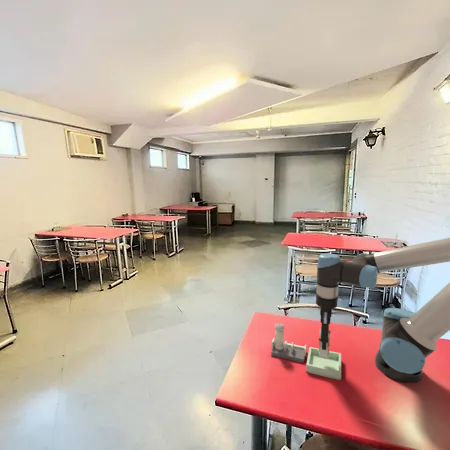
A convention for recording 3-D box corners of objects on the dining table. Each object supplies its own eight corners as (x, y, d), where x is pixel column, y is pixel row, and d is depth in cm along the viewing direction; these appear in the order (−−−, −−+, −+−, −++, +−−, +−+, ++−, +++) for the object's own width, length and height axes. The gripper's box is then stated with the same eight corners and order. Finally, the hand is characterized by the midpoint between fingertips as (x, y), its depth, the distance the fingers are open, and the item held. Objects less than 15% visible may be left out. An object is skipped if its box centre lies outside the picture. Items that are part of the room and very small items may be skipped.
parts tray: (340, 360, 106) (340, 353, 106) (340, 380, 96) (341, 372, 95) (309, 353, 111) (309, 346, 111) (306, 372, 100) (306, 364, 100)
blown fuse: (329, 353, 104) (330, 329, 102) (328, 359, 100) (330, 334, 99) (318, 351, 105) (319, 327, 104) (318, 356, 102) (319, 332, 100)
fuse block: (306, 351, 112) (307, 341, 112) (304, 363, 105) (305, 352, 104) (274, 344, 118) (274, 335, 117) (270, 355, 110) (270, 345, 110)
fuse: (284, 346, 114) (285, 324, 112) (282, 351, 110) (283, 329, 109) (275, 344, 115) (276, 322, 114) (273, 349, 112) (274, 327, 110)
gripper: (317, 285, 108) (315, 338, 112) (314, 302, 93) (311, 363, 96) (337, 288, 105) (334, 342, 109) (337, 306, 90) (334, 368, 93)
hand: (323, 352), depth 103 cm, fingers closed on blown fuse, 4 cm apart
